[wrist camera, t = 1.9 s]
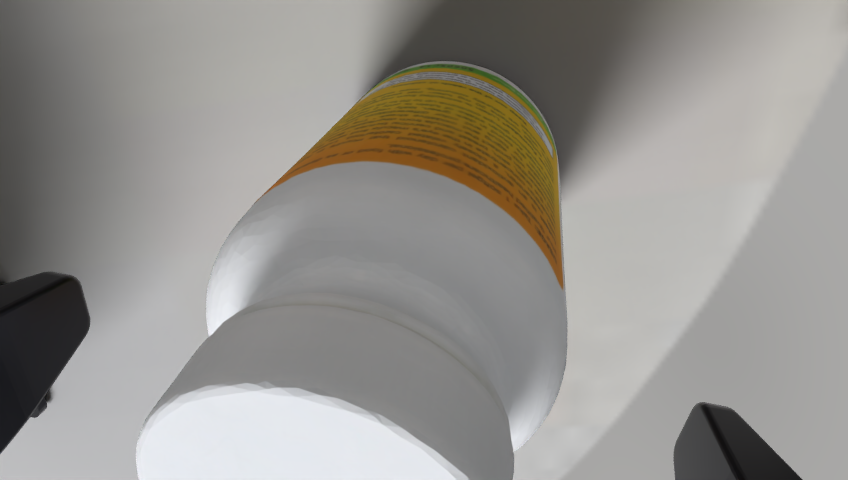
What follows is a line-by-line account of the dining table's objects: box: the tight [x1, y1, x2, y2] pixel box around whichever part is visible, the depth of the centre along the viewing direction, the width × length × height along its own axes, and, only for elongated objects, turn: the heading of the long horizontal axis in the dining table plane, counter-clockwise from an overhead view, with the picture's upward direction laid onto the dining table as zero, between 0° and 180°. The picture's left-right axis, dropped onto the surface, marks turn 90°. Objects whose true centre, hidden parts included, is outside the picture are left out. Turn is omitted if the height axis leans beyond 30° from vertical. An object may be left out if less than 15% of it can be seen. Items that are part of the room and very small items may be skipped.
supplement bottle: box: [136, 61, 567, 480], centre depth 10 cm, size 5×5×10 cm
